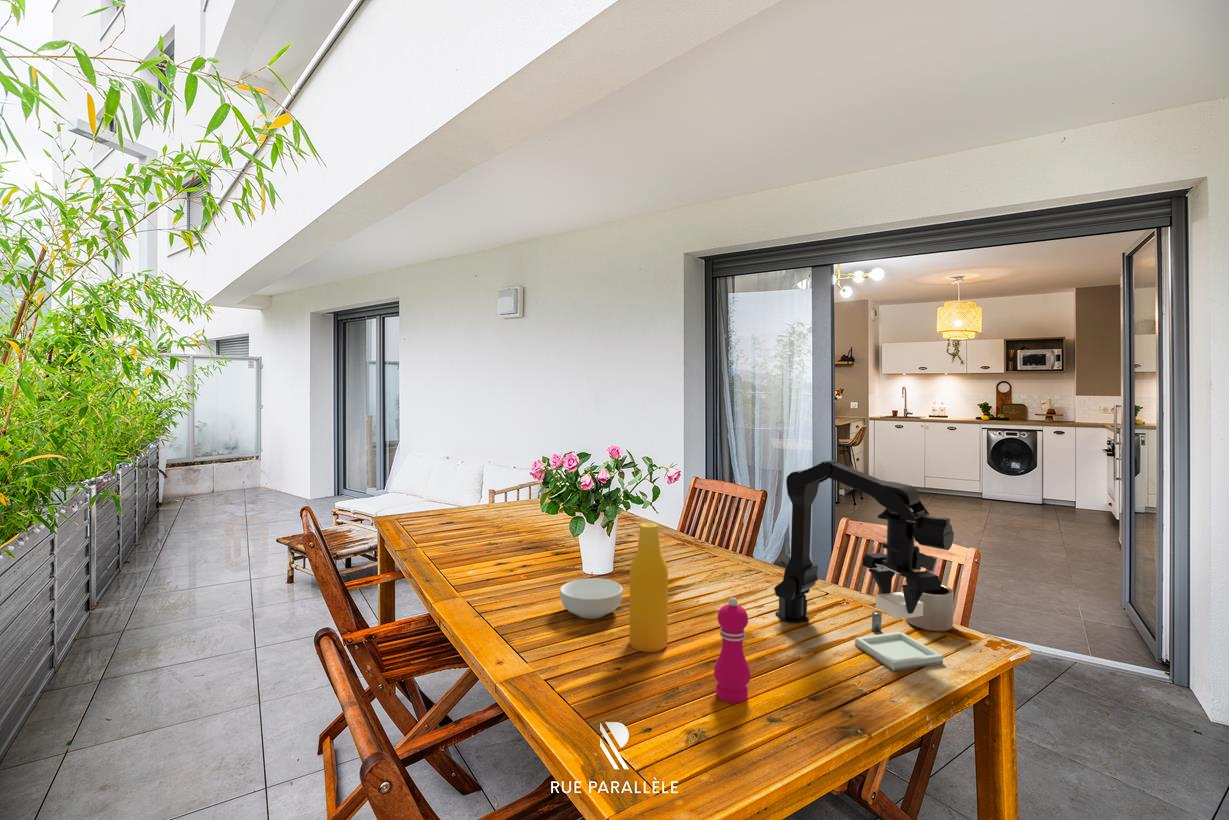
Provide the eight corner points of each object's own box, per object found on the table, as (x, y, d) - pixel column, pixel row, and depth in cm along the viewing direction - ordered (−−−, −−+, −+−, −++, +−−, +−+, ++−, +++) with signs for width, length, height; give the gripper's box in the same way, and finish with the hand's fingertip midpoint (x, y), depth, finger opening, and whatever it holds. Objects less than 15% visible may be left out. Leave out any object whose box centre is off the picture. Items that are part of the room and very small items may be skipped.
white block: (897, 619, 132) (897, 606, 132) (875, 607, 139) (875, 594, 139) (922, 615, 134) (923, 602, 134) (900, 604, 141) (900, 591, 141)
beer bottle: (656, 656, 136) (657, 531, 134) (622, 646, 141) (622, 526, 139) (674, 641, 144) (675, 523, 142) (641, 632, 148) (641, 518, 147)
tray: (894, 671, 129) (894, 663, 129) (855, 645, 141) (855, 637, 141) (942, 663, 132) (943, 655, 132) (900, 638, 145) (900, 631, 145)
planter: (947, 618, 157) (949, 583, 157) (956, 635, 147) (958, 597, 146) (902, 613, 161) (903, 578, 160) (908, 629, 150) (909, 592, 150)
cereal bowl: (632, 607, 165) (632, 582, 164) (606, 630, 150) (606, 603, 149) (578, 597, 172) (578, 574, 172) (548, 619, 157) (548, 592, 157)
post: (875, 633, 148) (876, 615, 148) (869, 629, 150) (870, 612, 150) (883, 631, 149) (883, 614, 149) (877, 628, 151) (877, 611, 151)
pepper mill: (709, 686, 123) (710, 591, 122) (744, 684, 123) (745, 590, 122) (719, 705, 115) (719, 605, 114) (755, 703, 116) (756, 603, 115)
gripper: (962, 549, 129) (960, 619, 130) (900, 528, 147) (898, 589, 148) (920, 553, 126) (918, 625, 127) (861, 531, 144) (860, 594, 145)
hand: (898, 607), depth 136 cm, fingers closed on white block, 7 cm apart
